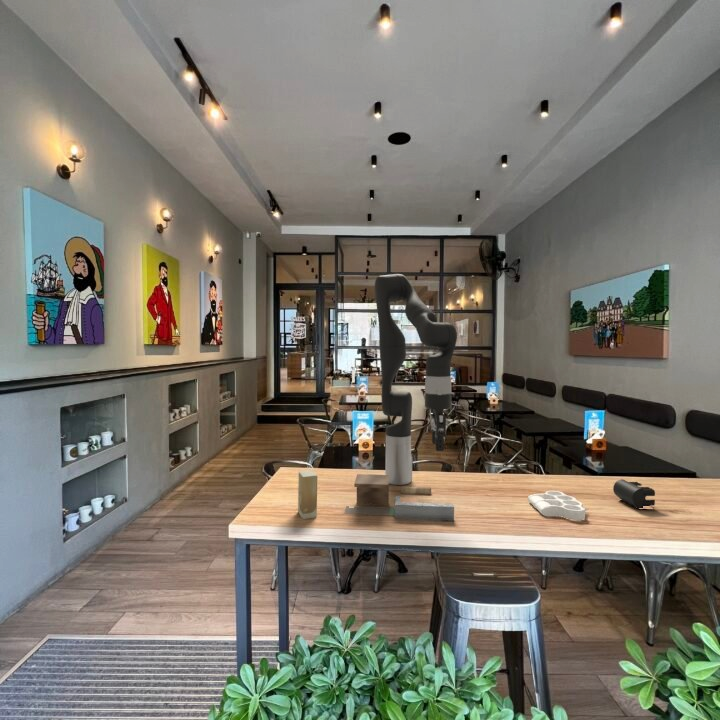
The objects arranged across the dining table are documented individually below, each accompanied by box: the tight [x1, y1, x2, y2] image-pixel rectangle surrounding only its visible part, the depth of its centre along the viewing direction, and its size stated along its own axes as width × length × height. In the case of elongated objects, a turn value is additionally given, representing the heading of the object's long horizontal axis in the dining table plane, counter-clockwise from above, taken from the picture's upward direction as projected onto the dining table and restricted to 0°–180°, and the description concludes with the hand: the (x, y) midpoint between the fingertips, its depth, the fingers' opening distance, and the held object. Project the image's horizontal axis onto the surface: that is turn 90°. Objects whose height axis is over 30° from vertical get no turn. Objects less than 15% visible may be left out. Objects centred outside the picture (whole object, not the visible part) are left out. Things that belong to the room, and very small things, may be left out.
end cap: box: [612, 478, 656, 509], centre depth 135 cm, size 10×7×7 cm
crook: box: [394, 495, 455, 522], centre depth 124 cm, size 16×8×4 cm, turn 85°
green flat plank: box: [343, 505, 395, 516], centre depth 127 cm, size 25×6×1 cm, turn 85°
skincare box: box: [297, 469, 318, 520], centre depth 124 cm, size 6×4×12 cm
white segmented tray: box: [527, 490, 589, 520], centre depth 130 cm, size 3×18×15 cm
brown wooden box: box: [353, 473, 390, 506], centre depth 129 cm, size 10×10×9 cm
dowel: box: [400, 486, 432, 495], centre depth 144 cm, size 10×2×2 cm
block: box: [400, 497, 419, 503], centre depth 126 cm, size 5×5×4 cm
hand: (437, 447), depth 124 cm, fingers open, 8 cm apart
